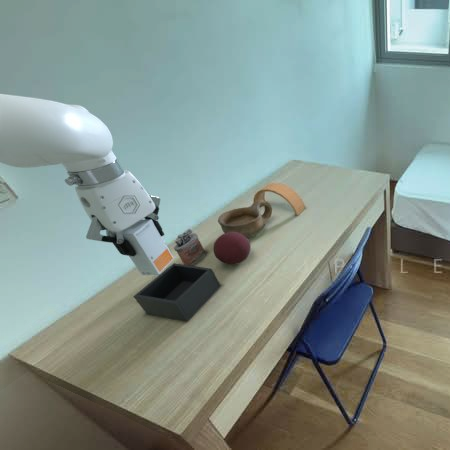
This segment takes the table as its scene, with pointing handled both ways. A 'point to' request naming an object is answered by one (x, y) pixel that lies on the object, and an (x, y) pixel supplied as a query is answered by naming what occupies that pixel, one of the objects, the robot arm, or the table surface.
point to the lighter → (189, 248)
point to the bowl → (246, 219)
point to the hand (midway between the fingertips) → (144, 244)
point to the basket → (178, 292)
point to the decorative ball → (232, 248)
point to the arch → (283, 192)
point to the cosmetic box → (148, 247)
